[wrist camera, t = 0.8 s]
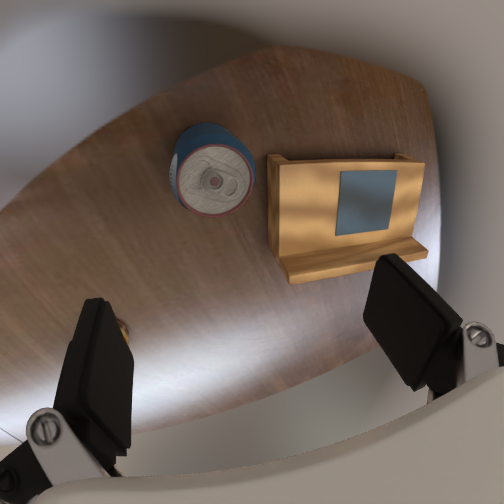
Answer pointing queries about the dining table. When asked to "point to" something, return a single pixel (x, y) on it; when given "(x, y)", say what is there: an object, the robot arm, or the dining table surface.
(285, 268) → the wooden block with lip
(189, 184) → the soda can
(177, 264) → the dining table surface
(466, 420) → the robot arm
